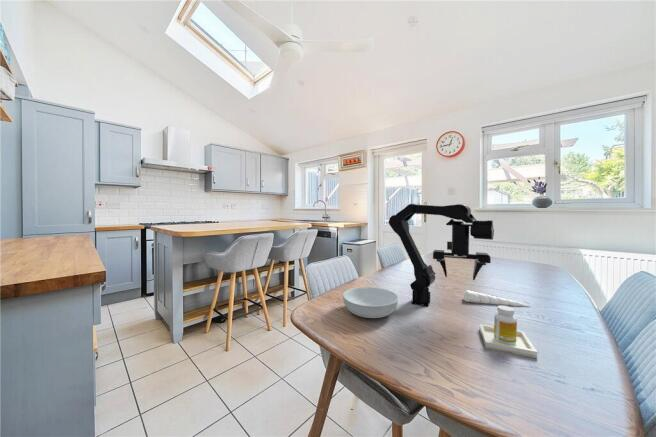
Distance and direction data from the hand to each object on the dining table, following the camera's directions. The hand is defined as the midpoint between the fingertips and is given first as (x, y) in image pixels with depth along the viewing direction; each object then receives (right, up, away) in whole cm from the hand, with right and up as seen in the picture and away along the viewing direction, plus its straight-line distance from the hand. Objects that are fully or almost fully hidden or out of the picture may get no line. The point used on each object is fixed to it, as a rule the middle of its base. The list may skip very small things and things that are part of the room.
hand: (459, 278), depth 93 cm
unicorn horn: (+19, -13, +9) cm, 25 cm away
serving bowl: (-34, -14, +1) cm, 37 cm away
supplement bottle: (+3, -14, -20) cm, 24 cm away
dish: (+3, -14, -20) cm, 25 cm away
